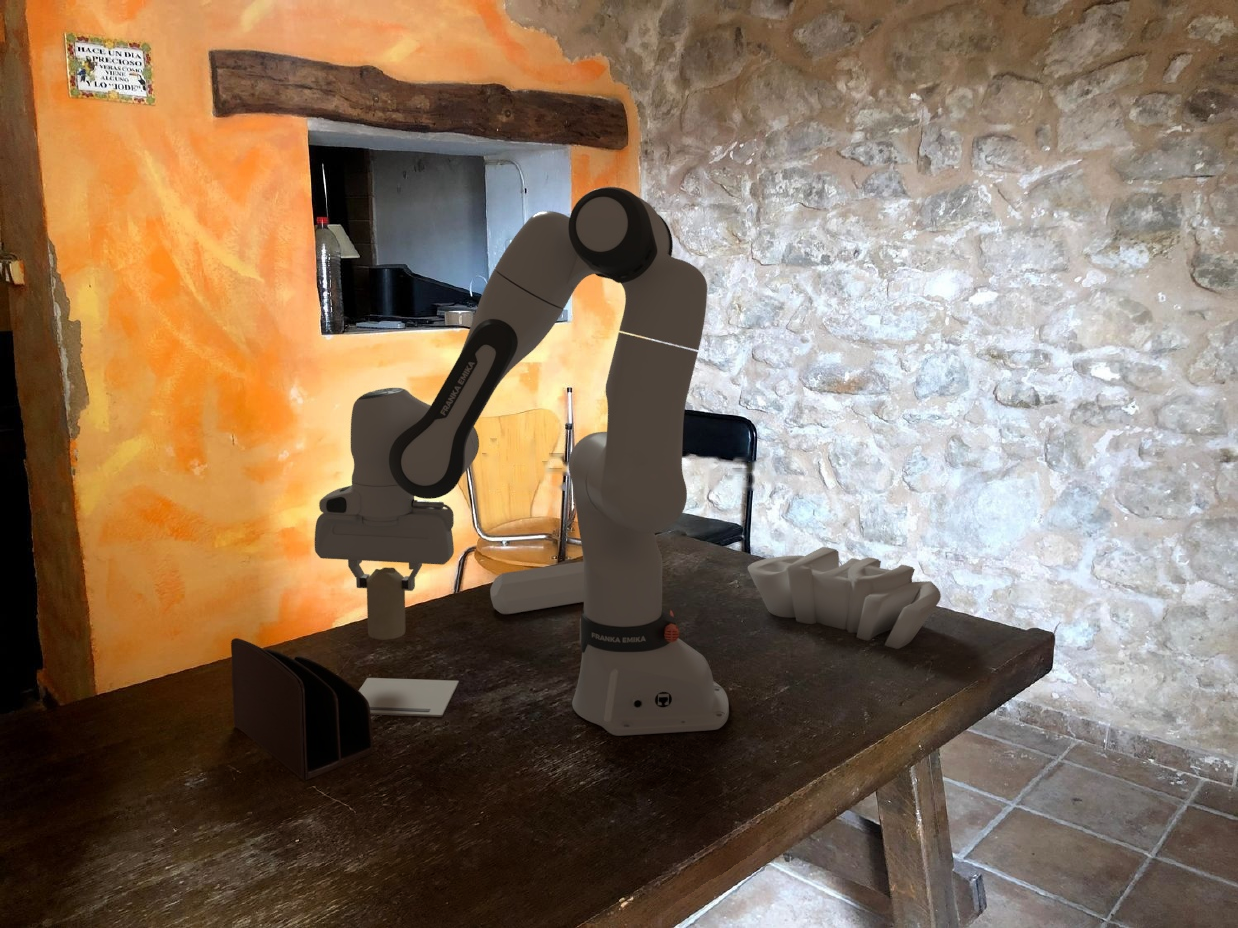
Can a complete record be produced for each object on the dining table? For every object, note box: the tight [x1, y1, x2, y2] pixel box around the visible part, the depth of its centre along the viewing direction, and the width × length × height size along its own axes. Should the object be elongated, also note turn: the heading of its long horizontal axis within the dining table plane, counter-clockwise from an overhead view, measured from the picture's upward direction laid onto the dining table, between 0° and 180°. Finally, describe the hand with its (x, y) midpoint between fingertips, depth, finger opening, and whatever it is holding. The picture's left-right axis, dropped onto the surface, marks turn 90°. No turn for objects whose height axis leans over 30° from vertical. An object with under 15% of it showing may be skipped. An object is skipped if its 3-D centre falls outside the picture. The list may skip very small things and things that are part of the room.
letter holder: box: [230, 638, 374, 782], centre depth 130 cm, size 10×20×14 cm, turn 45°
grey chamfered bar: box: [489, 561, 584, 615], centre depth 183 cm, size 7×7×24 cm
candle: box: [366, 566, 406, 641], centre depth 147 cm, size 6×6×10 cm
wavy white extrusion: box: [747, 546, 942, 650], centre depth 173 cm, size 35×16×11 cm, turn 47°
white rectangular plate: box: [358, 677, 460, 718], centre depth 144 cm, size 14×11×1 cm
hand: (385, 588), depth 147 cm, fingers closed on candle, 5 cm apart
